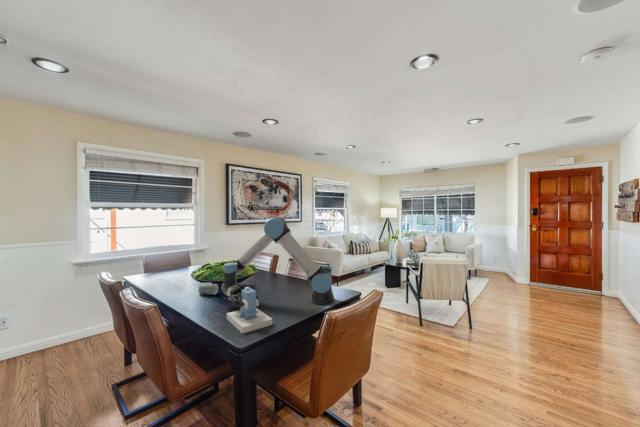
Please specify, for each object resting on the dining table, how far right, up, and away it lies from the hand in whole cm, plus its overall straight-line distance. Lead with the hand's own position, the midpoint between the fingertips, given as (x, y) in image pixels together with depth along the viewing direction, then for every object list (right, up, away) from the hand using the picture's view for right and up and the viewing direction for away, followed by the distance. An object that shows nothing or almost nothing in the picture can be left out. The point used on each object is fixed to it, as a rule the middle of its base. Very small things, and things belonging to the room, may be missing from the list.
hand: (252, 304), depth 138 cm
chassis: (-3, -10, +4) cm, 12 cm away
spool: (-43, -10, +50) cm, 66 cm away
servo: (-3, -8, +4) cm, 10 cm away
